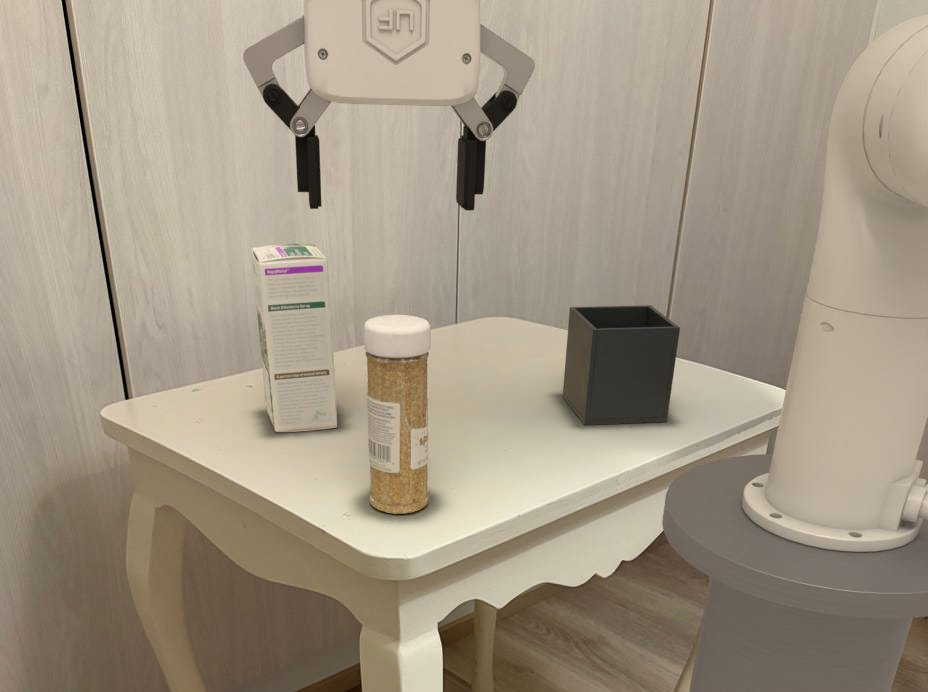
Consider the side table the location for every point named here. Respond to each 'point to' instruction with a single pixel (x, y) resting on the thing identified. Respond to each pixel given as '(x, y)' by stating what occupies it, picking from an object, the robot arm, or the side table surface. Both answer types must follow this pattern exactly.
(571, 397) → the dark grey open box
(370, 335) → the sprinkles bottle
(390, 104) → the robot arm
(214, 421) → the side table surface
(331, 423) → the syrup box
